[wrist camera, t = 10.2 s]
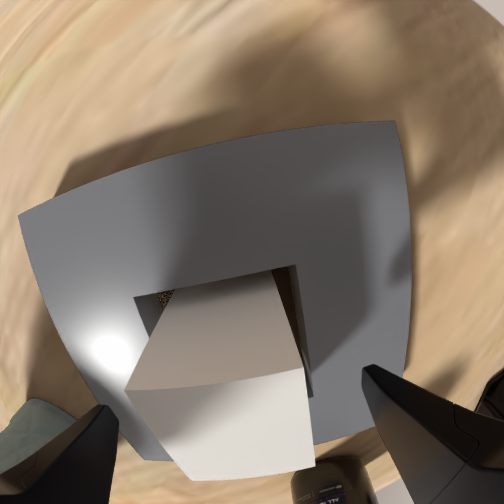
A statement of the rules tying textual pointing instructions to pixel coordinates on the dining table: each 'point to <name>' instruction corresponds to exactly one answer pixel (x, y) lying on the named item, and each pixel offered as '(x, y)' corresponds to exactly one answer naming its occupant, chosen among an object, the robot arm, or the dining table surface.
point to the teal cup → (31, 431)
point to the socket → (238, 258)
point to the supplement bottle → (333, 483)
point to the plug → (225, 382)
